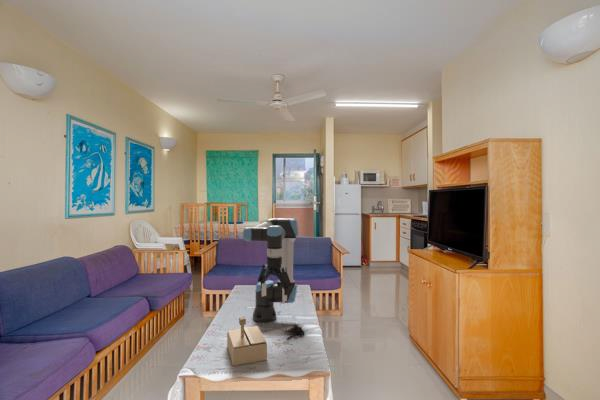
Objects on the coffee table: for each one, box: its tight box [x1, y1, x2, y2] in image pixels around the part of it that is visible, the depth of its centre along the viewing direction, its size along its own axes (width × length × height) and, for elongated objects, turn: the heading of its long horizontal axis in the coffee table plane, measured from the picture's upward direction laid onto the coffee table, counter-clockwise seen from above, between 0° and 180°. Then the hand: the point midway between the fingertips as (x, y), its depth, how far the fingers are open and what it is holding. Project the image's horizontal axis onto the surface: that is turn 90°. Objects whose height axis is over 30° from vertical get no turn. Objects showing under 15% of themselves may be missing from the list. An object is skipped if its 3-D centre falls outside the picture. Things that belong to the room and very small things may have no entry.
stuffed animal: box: [284, 323, 306, 341], centre depth 176 cm, size 12×10×12 cm
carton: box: [226, 325, 268, 367], centre depth 154 cm, size 20×16×9 cm
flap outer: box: [227, 316, 249, 348], centre depth 153 cm, size 19×7×10 cm, turn 21°
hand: (274, 298), depth 155 cm, fingers open, 13 cm apart
